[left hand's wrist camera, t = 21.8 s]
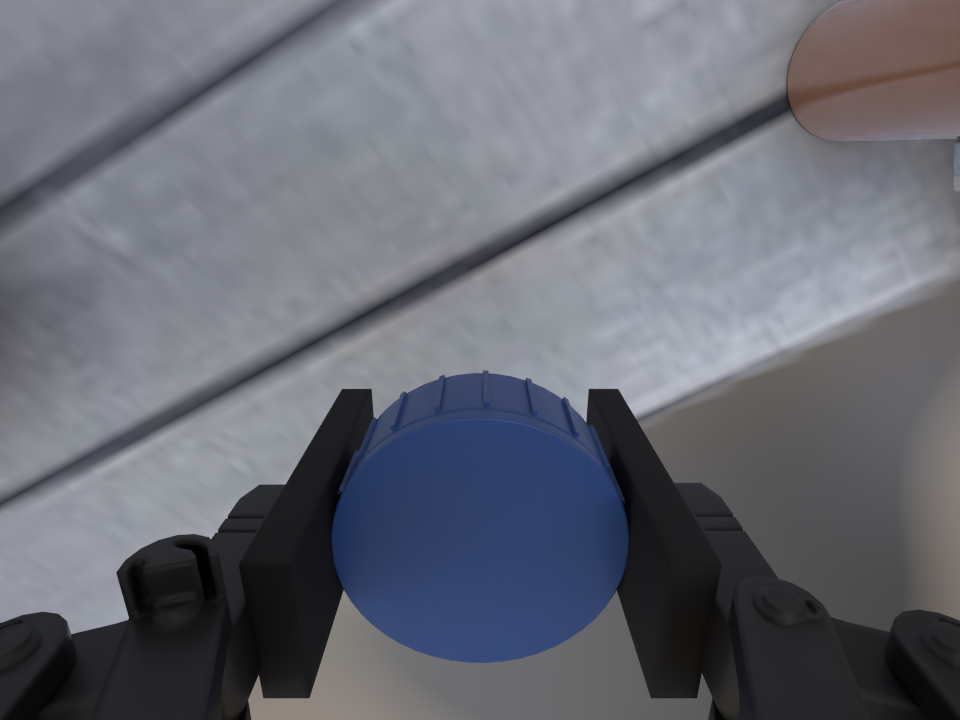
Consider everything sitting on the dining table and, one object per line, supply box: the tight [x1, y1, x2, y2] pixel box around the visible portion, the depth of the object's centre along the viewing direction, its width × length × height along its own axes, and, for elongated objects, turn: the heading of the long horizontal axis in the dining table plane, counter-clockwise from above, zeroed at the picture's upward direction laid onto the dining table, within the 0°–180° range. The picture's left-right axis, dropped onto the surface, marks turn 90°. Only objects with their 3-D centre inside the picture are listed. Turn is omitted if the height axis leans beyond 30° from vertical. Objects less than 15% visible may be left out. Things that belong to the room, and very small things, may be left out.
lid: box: [331, 371, 629, 663], centre depth 11 cm, size 6×6×2 cm
